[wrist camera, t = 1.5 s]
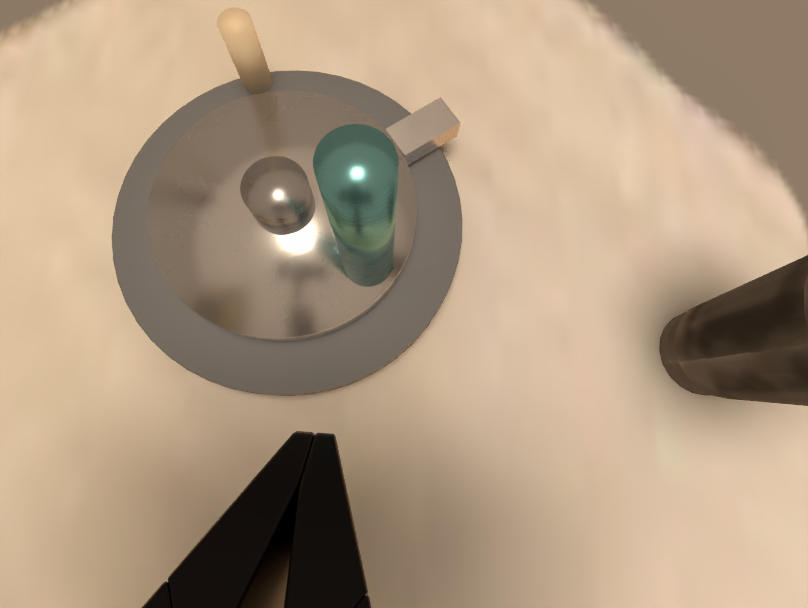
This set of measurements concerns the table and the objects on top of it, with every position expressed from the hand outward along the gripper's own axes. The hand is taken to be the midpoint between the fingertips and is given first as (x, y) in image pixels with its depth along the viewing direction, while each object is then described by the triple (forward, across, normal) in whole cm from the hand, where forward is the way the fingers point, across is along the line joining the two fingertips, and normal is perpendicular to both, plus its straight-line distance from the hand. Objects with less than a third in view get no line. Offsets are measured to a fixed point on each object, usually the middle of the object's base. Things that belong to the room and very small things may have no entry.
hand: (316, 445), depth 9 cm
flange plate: (+16, +4, +1) cm, 16 cm away
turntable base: (+17, +4, +3) cm, 17 cm away
